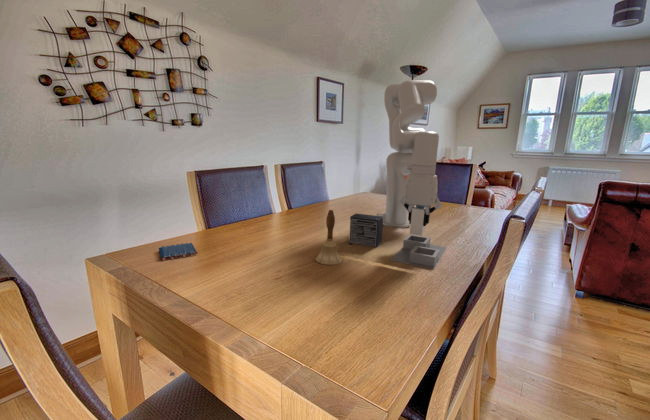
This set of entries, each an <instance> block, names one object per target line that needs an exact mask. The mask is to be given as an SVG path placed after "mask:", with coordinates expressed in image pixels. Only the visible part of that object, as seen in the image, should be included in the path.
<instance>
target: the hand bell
mask: <svg viewBox="0 0 650 420" xmlns="http://www.w3.org/2000/svg"><path fill="white" fill-rule="evenodd" d="M335 221H336V217H335V214H334V210H333V209H329V210H328V212H327V215H326V229H327V233H326V234H327V235H326V236H327V237H326V241H323V243H322V246H321V250H320V253H319V254H318V255H317V256H316V257H315V261H316V262H317V263H319V264H322V265H325V266H335V265H339V264H341V263H342V262H343V257H341V255H340V254H339V251H338V245H337V244H338V243H337V242H335V241H334V240H333V238H334V235H333V234H334V233H333V232H334V228H335V224H336V222H335Z"/></svg>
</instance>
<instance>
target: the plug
mask: <svg viewBox="0 0 650 420" xmlns="http://www.w3.org/2000/svg"><path fill="white" fill-rule="evenodd" d="M425 212H426V210H425V206H420V205H414V207H413V208H412V215H411V224H410V226H409V234H410V235H416V236H422V237H423V235H424V234H425V233H426V232H425V231H426V226H423V221H424V215H425Z"/></svg>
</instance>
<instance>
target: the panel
mask: <svg viewBox="0 0 650 420" xmlns="http://www.w3.org/2000/svg"><path fill="white" fill-rule="evenodd" d="M431 239H432V237H428V236H423V235H422V236H419V235H413V234H410V233H409V234H408V235H407V236H406V237H404V239H403V242H402V243H403V244H402V247H401V248H400V250H398V251H397V253H395V255H394V256H393V257H392V258H391V259H390V262H391V261H392V262H396V263H400V264H406V265H409V266H410V265H411V266H416V267H420V268H424V269H425V268H426V269H429V270H435V269H436V267H437V264H438V263H439V261H440V260H441V258H442V257H443V254H444V253H445V251H446V250H447V247H446V246H441V245H435V244H431Z"/></svg>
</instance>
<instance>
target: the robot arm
mask: <svg viewBox="0 0 650 420" xmlns="http://www.w3.org/2000/svg"><path fill="white" fill-rule="evenodd" d="M437 95H438V88H437V86H436V83H435V82H434V81H432V80H429V79H427V80H426V79H424V80H423V79H421V80H420V79H419V80H417V79H409V80H408V79H407V80H405V81H402V82H401V83H399V82H398V83H392V84H389V85H388V86H386V88H385V91H384V97H383V99H384V100H383V101H384V107H385V111H386V113H387V117H388V123H389V124H388V126H389V127H388V130H389V132H388V133H389V135H388V136H389V138H388V139H389V145H390V148H391V149H393V150H394V151H396V152H391V153H390V154H388V156H387V158H386V161H385V163H386V176H387V177H386V178H387V179H386V181H387V183H386V195H385V196H386V198H385V211H384V213H382V212H377V213H376V215H375V216H383V226H384V227H388V228H389V227H390V228H396V229H404V228H405V229H406V228H410V226H411V215H412V208H413V207H415V206H416V205H420V206H425V210H426V212H425V215H424V221H423V226H425V227H426V226H427V224H429V223H430V215H431V214H432V213H434V211H436V210H439V209H441V208H442V206H443V205H442V202H441V201H440V199H439V197H438V185H439V182H438V175H436V168H437V158H438V150H439V141H440V139H439V138H440V136H439V135H440V134H439V133H438V132H437V131H431V130H430V131H429V130H425V129H424V128H423V127H411V126H410V125H411V124H414V123H416V122H418V121H419V120H421V119H423V117H424V116H425V113H426V108H425V106H426V105H431V104H433V103H434V102H435V100H436V98H437ZM405 176H407V178H406V177H405Z"/></svg>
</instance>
